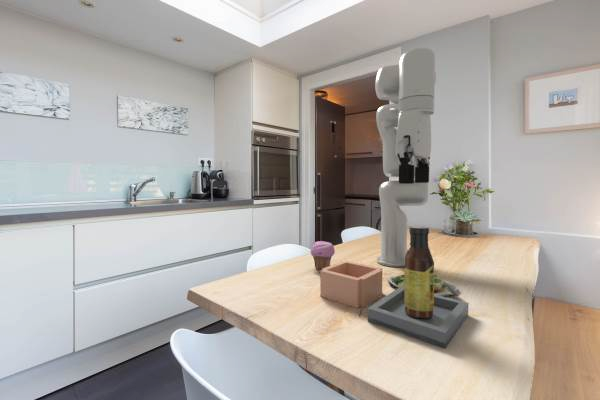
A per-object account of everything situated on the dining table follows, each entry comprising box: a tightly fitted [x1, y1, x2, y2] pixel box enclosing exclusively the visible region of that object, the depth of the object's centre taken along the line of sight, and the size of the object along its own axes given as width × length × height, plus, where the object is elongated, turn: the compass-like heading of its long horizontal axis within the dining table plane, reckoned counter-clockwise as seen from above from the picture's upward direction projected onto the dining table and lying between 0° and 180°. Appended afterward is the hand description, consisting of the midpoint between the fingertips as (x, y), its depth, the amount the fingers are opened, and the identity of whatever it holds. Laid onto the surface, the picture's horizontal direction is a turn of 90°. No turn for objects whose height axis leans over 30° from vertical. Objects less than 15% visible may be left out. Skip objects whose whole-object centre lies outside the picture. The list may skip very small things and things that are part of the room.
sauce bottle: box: [403, 225, 435, 319], centre depth 65 cm, size 6×6×20 cm
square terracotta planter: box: [319, 260, 383, 309], centre depth 79 cm, size 13×13×7 cm
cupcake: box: [310, 240, 336, 271], centre depth 103 cm, size 9×9×10 cm
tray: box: [367, 286, 469, 349], centre depth 65 cm, size 18×16×3 cm
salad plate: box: [387, 274, 460, 297], centre depth 84 cm, size 19×18×5 cm
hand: (414, 183), depth 67 cm, fingers open, 9 cm apart
